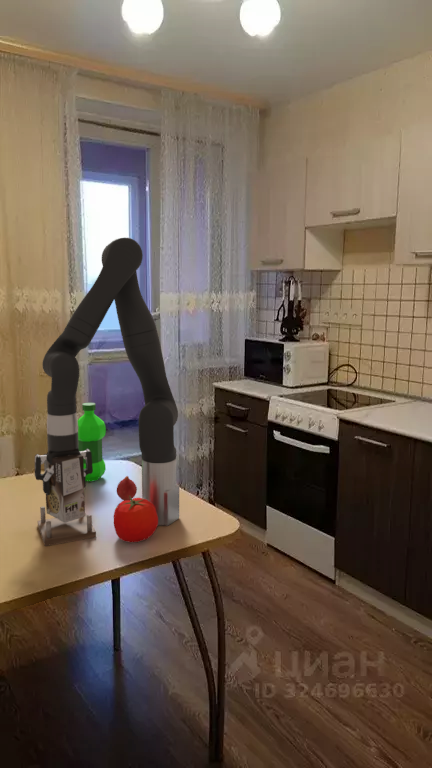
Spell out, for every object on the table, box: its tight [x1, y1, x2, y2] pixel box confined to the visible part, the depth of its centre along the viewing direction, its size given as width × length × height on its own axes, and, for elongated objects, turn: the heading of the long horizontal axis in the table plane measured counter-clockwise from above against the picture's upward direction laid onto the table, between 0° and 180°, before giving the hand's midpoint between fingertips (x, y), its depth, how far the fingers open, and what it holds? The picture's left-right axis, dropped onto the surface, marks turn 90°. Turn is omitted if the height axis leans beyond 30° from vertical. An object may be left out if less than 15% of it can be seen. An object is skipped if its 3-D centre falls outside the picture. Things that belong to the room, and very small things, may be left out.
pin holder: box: [37, 506, 97, 547], centre depth 148 cm, size 13×13×6 cm
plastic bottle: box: [77, 402, 107, 482], centre depth 186 cm, size 10×10×25 cm
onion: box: [116, 475, 138, 501], centre depth 168 cm, size 6×6×8 cm
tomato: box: [112, 496, 159, 543], centre depth 144 cm, size 12×12×10 cm
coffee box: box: [43, 453, 86, 523], centre depth 147 cm, size 9×6×16 cm
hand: (64, 491), depth 147 cm, fingers closed on coffee box, 8 cm apart
